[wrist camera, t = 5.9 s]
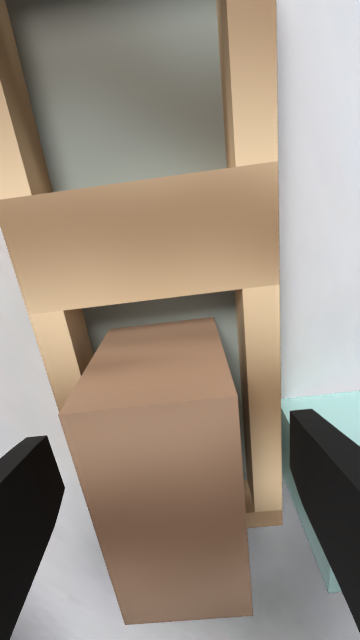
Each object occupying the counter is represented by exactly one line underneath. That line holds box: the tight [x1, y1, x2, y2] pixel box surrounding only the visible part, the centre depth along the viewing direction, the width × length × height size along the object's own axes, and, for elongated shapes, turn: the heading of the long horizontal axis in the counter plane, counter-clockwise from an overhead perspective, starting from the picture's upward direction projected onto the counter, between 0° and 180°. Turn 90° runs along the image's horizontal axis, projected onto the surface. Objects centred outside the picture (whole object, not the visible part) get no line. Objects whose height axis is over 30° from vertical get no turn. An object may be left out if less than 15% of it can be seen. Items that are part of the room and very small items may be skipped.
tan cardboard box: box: [58, 317, 253, 625], centre depth 9 cm, size 7×4×4 cm, turn 7°
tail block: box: [281, 391, 360, 593], centre depth 11 cm, size 4×4×5 cm
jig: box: [0, 0, 282, 528], centre depth 10 cm, size 18×7×3 cm, turn 7°
